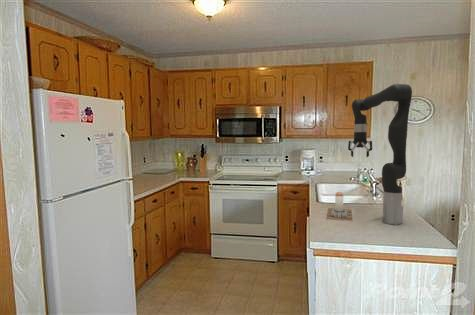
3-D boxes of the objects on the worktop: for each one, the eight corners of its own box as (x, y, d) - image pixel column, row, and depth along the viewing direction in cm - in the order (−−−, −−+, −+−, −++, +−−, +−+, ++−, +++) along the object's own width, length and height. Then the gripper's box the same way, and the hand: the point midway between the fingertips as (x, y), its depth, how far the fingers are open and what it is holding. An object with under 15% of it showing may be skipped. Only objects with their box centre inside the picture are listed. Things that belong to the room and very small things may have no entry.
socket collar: (332, 213, 192) (332, 208, 192) (346, 214, 190) (347, 209, 189) (331, 217, 184) (331, 212, 184) (347, 218, 182) (347, 213, 181)
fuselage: (344, 216, 186) (345, 191, 185) (339, 217, 184) (339, 192, 183) (338, 214, 190) (338, 190, 189) (333, 215, 188) (333, 191, 186)
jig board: (328, 210, 206) (328, 208, 206) (351, 211, 201) (351, 209, 201) (326, 221, 181) (326, 219, 181) (352, 223, 177) (352, 221, 177)
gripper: (348, 131, 201) (348, 157, 202) (373, 131, 197) (372, 157, 198) (348, 131, 208) (347, 156, 209) (372, 131, 204) (371, 156, 205)
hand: (359, 157), depth 204 cm, fingers open, 8 cm apart
